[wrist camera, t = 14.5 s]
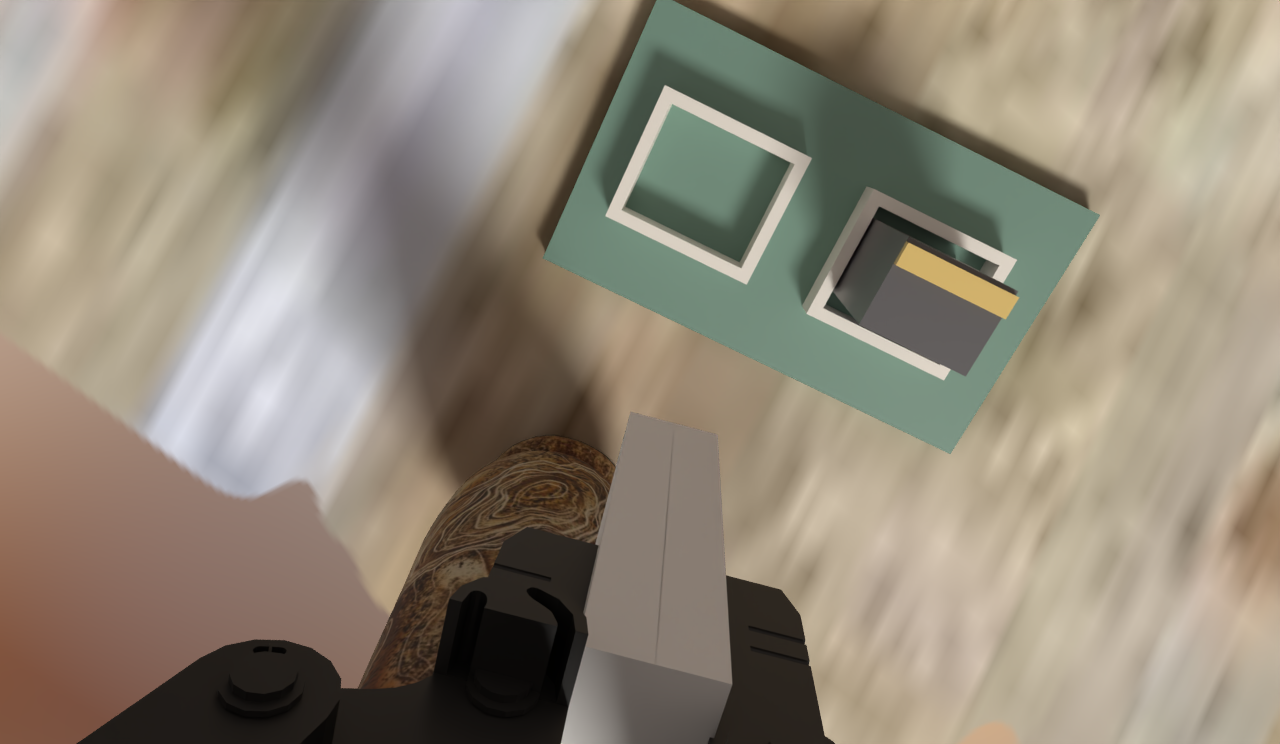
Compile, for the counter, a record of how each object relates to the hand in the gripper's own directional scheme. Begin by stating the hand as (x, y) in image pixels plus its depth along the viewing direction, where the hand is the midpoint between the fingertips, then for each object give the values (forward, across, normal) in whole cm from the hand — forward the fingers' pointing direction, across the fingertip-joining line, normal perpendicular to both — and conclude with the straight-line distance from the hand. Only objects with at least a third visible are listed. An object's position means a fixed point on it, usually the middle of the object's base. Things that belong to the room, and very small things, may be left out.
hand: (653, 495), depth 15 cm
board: (+32, +6, +2) cm, 33 cm away
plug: (+31, +11, +1) cm, 33 cm away
